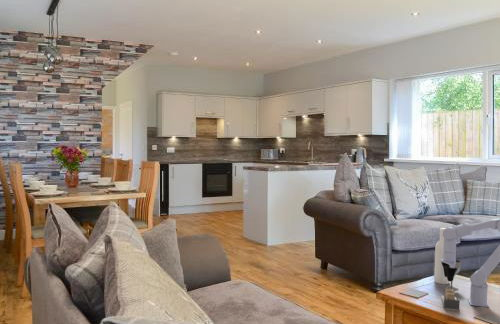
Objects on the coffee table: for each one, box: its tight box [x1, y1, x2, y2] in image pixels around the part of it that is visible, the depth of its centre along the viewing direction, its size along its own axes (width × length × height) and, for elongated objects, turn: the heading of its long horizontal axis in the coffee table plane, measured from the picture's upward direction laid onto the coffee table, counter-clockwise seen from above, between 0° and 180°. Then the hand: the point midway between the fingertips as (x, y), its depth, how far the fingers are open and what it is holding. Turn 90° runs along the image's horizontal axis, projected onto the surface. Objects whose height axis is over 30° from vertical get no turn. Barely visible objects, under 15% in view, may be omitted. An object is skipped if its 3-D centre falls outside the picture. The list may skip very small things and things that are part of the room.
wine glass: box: [443, 259, 462, 292], centre depth 247 cm, size 8×8×15 cm
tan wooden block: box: [444, 289, 456, 300], centre depth 223 cm, size 9×3×5 cm, turn 162°
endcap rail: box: [441, 295, 460, 312], centre depth 222 cm, size 16×6×5 cm, turn 162°
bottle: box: [433, 227, 450, 285], centre depth 258 cm, size 8×8×30 cm
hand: (448, 278), depth 231 cm, fingers open, 7 cm apart
